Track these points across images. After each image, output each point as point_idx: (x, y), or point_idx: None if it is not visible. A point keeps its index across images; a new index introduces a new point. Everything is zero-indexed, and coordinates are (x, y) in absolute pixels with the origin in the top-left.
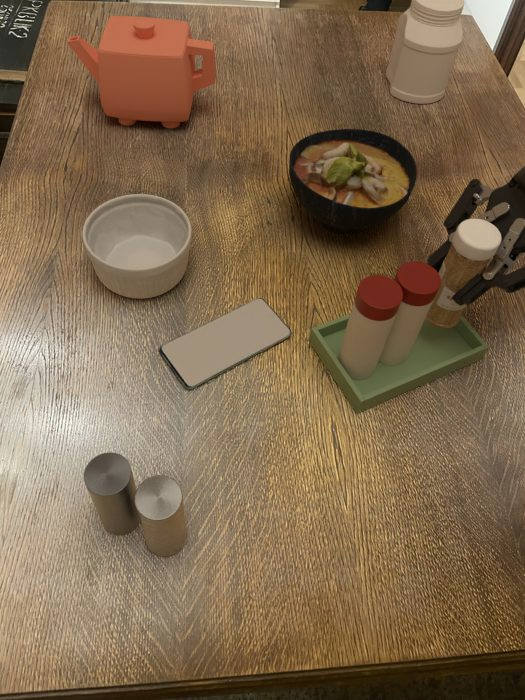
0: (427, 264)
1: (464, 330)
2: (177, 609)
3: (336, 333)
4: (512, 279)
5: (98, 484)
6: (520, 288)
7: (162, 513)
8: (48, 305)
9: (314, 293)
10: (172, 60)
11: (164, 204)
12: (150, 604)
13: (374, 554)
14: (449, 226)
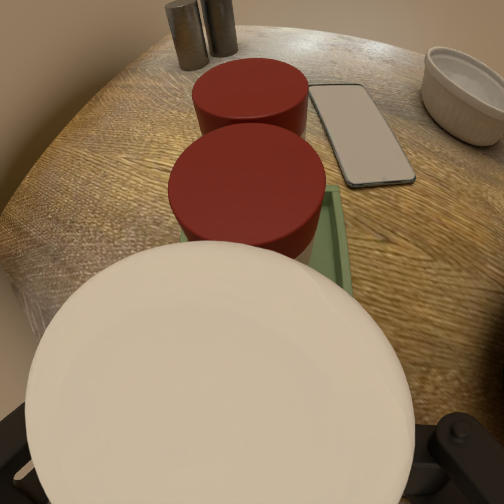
0: (289, 232)
1: None
2: (152, 66)
3: (329, 238)
4: (11, 425)
5: None
6: None
7: (169, 4)
8: (418, 64)
9: (415, 254)
10: None
11: None
12: (164, 58)
13: (82, 163)
14: (442, 427)
